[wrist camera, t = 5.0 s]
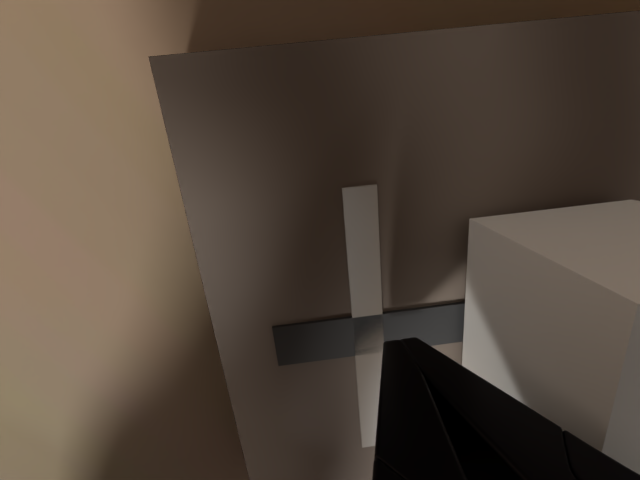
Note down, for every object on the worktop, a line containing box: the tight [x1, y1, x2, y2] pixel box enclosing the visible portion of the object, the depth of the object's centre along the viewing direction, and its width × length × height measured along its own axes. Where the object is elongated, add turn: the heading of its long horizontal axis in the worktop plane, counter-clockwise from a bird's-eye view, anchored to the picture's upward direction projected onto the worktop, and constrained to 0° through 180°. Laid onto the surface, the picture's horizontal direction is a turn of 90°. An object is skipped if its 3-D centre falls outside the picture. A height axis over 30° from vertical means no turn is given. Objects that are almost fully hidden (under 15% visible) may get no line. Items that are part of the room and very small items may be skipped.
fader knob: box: [462, 200, 640, 474], centre depth 7 cm, size 4×6×4 cm, turn 6°
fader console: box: [149, 11, 640, 480], centre depth 10 cm, size 18×14×2 cm
